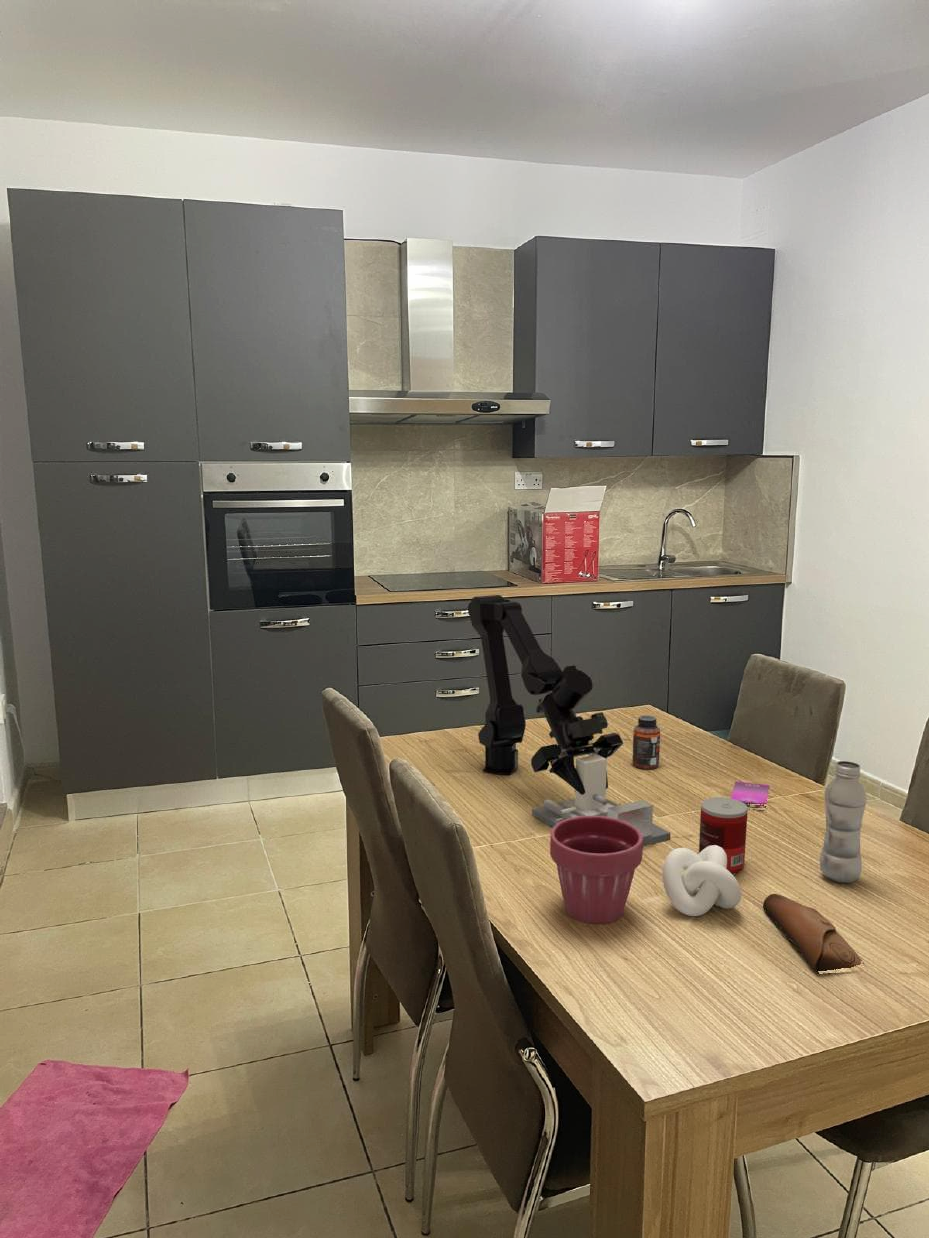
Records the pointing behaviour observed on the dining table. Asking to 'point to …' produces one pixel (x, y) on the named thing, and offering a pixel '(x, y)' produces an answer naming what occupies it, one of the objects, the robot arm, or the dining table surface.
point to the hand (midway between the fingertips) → (595, 791)
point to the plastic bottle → (843, 824)
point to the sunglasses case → (811, 934)
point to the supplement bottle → (646, 743)
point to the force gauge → (590, 788)
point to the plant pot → (595, 865)
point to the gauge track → (554, 815)
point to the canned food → (725, 829)
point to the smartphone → (751, 794)
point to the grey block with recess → (635, 815)
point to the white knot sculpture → (699, 880)
